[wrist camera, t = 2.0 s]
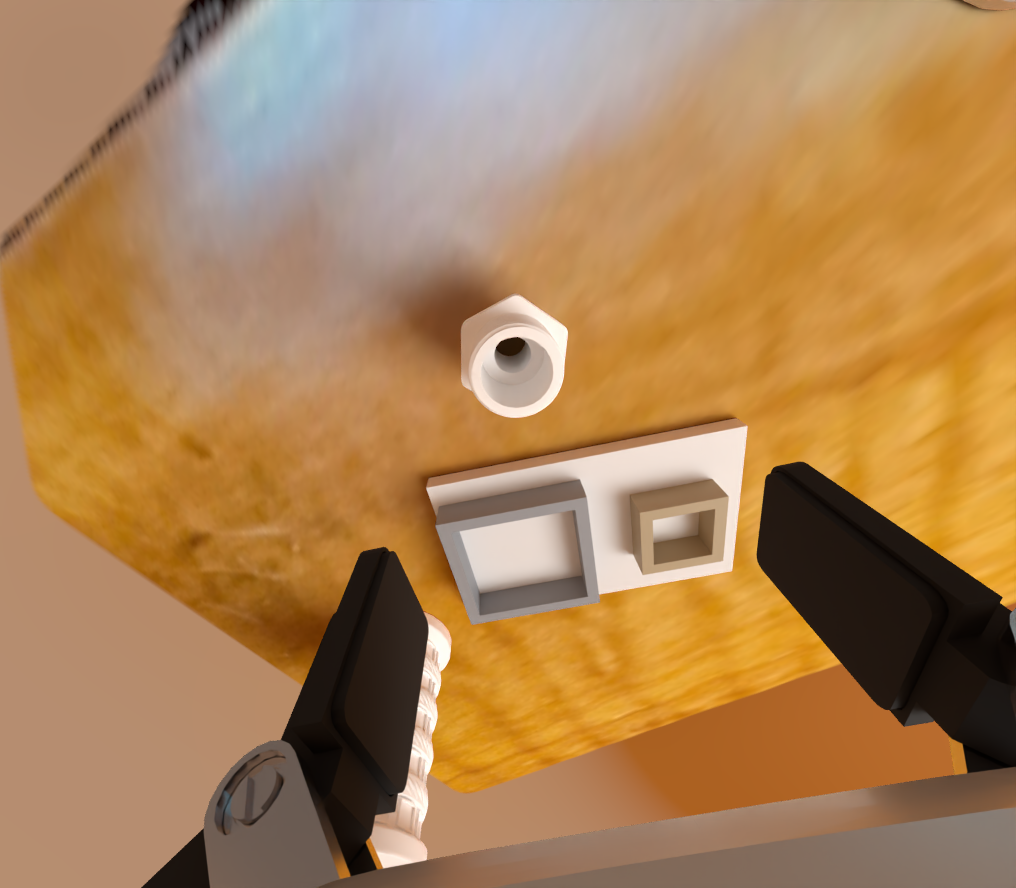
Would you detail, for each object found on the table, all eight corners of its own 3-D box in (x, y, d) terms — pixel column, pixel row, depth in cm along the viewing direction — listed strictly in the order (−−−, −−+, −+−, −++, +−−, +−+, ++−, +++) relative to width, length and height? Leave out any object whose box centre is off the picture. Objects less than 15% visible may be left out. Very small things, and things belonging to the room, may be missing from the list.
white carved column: (389, 685, 46) (337, 919, 30) (321, 631, 41) (216, 877, 25) (471, 651, 44) (462, 884, 28) (409, 590, 39) (356, 831, 23)
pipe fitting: (572, 355, 28) (599, 393, 21) (487, 398, 30) (487, 447, 23) (535, 272, 26) (553, 284, 19) (443, 324, 27) (427, 353, 20)
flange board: (428, 478, 33) (421, 506, 29) (736, 418, 32) (767, 440, 28) (472, 604, 40) (471, 639, 37) (723, 559, 39) (747, 591, 35)
